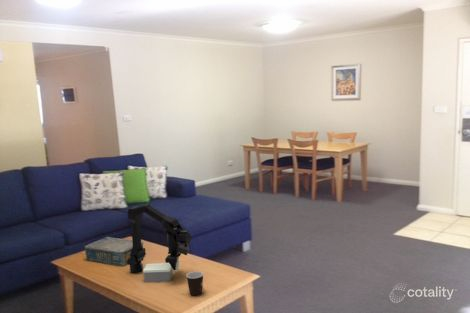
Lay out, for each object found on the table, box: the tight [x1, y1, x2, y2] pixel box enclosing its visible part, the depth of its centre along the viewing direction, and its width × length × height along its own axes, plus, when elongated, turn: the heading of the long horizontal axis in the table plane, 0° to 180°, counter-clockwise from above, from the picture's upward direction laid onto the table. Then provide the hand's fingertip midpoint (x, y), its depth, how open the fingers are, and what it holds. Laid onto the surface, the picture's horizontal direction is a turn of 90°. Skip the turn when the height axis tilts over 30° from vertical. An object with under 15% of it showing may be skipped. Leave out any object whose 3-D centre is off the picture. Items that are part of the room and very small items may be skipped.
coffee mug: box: [186, 270, 204, 297], centre depth 219 cm, size 12×9×10 cm
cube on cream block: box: [142, 260, 180, 274], centre depth 237 cm, size 19×10×4 cm, turn 87°
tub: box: [143, 270, 174, 283], centre depth 238 cm, size 14×9×6 cm, turn 87°
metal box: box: [84, 236, 144, 267], centre depth 275 cm, size 21×32×10 cm, turn 63°
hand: (175, 268), depth 237 cm, fingers closed on cube on cream block, 3 cm apart
